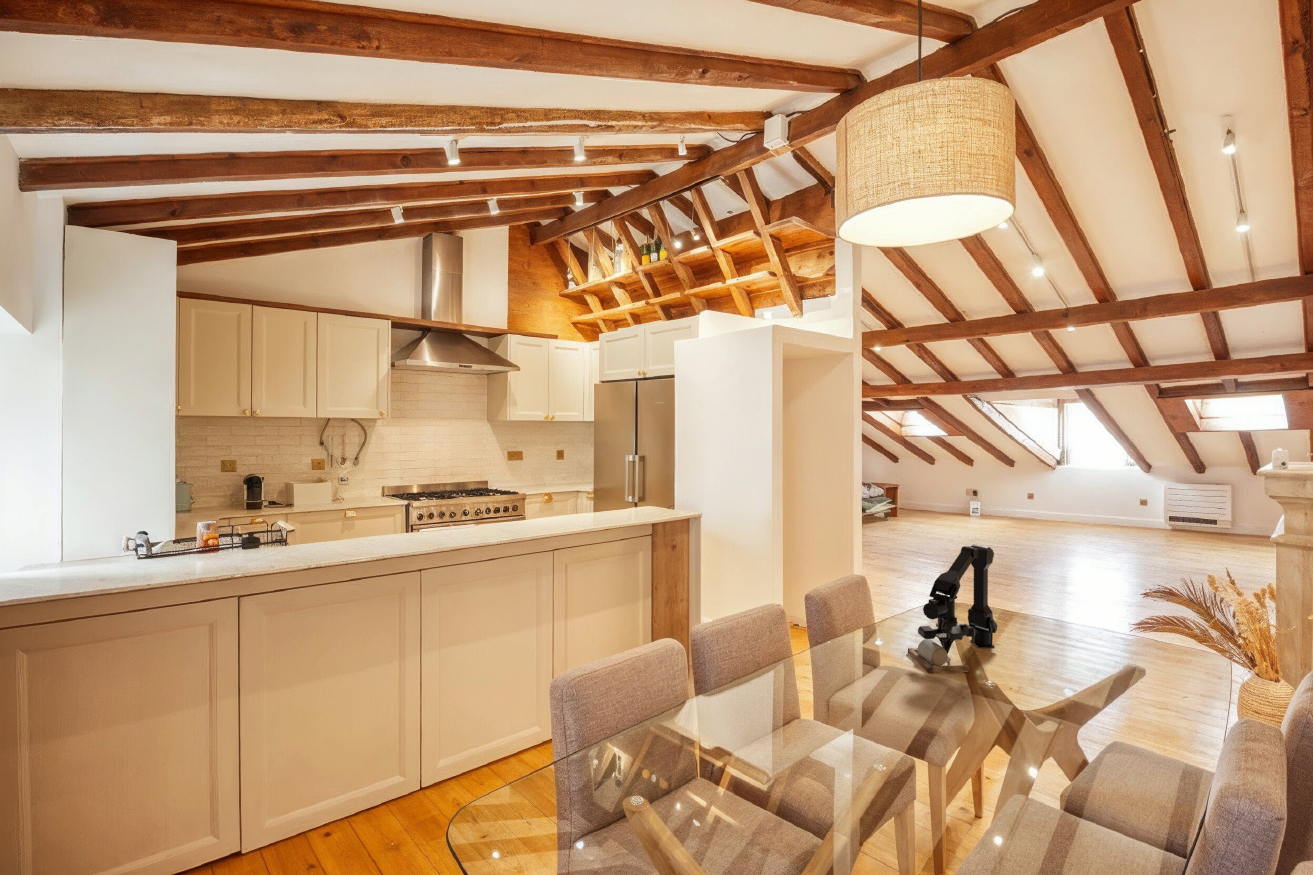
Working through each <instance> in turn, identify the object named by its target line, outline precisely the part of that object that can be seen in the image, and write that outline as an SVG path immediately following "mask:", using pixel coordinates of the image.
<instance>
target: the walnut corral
mask: <svg viewBox="0 0 1313 875" xmlns="http://www.w3.org/2000/svg"><path fill="white" fill-rule="evenodd" d="M917 649H918V647H909V648H907V654H908V653H909V654H910V655H911V656H910V655H909V654H908V655H909V656H910V657H911V659H913V660H914V661H915V662H916V663H917V664H918V665H919V666H920V667H921V668H922V669H923V670H924V671H926V673H928V674H929V675H930V674H959V673H960V672H965V671H969V672H970V666H969V665H967V664H965V665H964V664H959V665H958V664H957V665H941V666H935V665H931V664H930V663H929V662H927V661H926V660H924V659H923V658H922V657H921V656H920V655H918V651H917ZM960 674H961V673H960Z"/></svg>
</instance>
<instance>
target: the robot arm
mask: <svg viewBox="0 0 1313 875" xmlns="http://www.w3.org/2000/svg"><path fill="white" fill-rule="evenodd" d="M994 557H995V552H994V550H993V549H992V548H991V546H990V547H989V546H985V545H981V544H975V543H974V544H971V546H969V545H965V546H964V545H963V546H962V547H961V549H960V552H959V554H958V555H957V556H956V558H955V559H954V561H953V563H952V564H951V565H950V567H949V568H948V570H947V571H945V572H943V573H941V574H940V575H939V576H938V577H937V578H936V579H935V580H934V583H933V585H932V588H931V590H930V593H929V599H928V602H927V603H925V604H924V605H923V608H922V612H923V614H924V616H925V617H926V618H928V619H929V620H936V619H937V623H935V627H936V628H932V627H931V626H930V625H921V626H919V627H918V628H917V634H918V635H920V637H921V638H923V640H924V639H931V640H934V639H935V638H937V639H938V641H939V643H940V646H941V647H943V648H944V649H945V650H946V652H947V654H949V651H950V650H951V647H952V645H953V643H954V642H955V641H957V640H958V641H962V640H963V638H964V636H965V637H968V638H970V637H971V639H970V643H972V644H973V645H975V646H976V647H977V648H995V647H994V646H995V645H994V644H993V636H994V634H996V632H998V631H997V630H998V624H997V623H996V621H995V619H994V617H993V616H994V615H993V611H992V609H991V607H990V606H989V603H988V602H989V600H988V599H989V598H988V596H989V594H988V592H989V591H988V590H989V587H988V585H989V584H988V582H989V568H990V566H992V564H993V561H994ZM970 566H971V567H972V568H973V604H972V606H971V607H970V608H969V609H968V610H967V622H968V624H967V623H959V622H958V618H957V616H956V609H955V608H956V604H955V603H956V599H958V596H957V595H958V593H959V591H960V588H961V582H960V581H961V579H962V578H963V576H964V574H966V572H967V570H968V569H969V567H970Z"/></svg>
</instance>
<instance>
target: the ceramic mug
mask: <svg viewBox="0 0 1313 875" xmlns="http://www.w3.org/2000/svg"><path fill="white" fill-rule="evenodd" d="M917 648H918V649H917V651H918V655H920V656H921V657H922V658H923V659H924V660H925V661H926V662H927V663H928V664H930V665H931V666H944V665H945V664H946V663H951V661H952V659H951V657H949V655H948V654H949V653H948V654H947V652H946V650H945V649H944V648H943V647H942V645H941V644H940V645H939V643H937V642H936V641H934V639H924V638H923V639H922V640H921V641H919V644H918V645H917Z"/></svg>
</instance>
